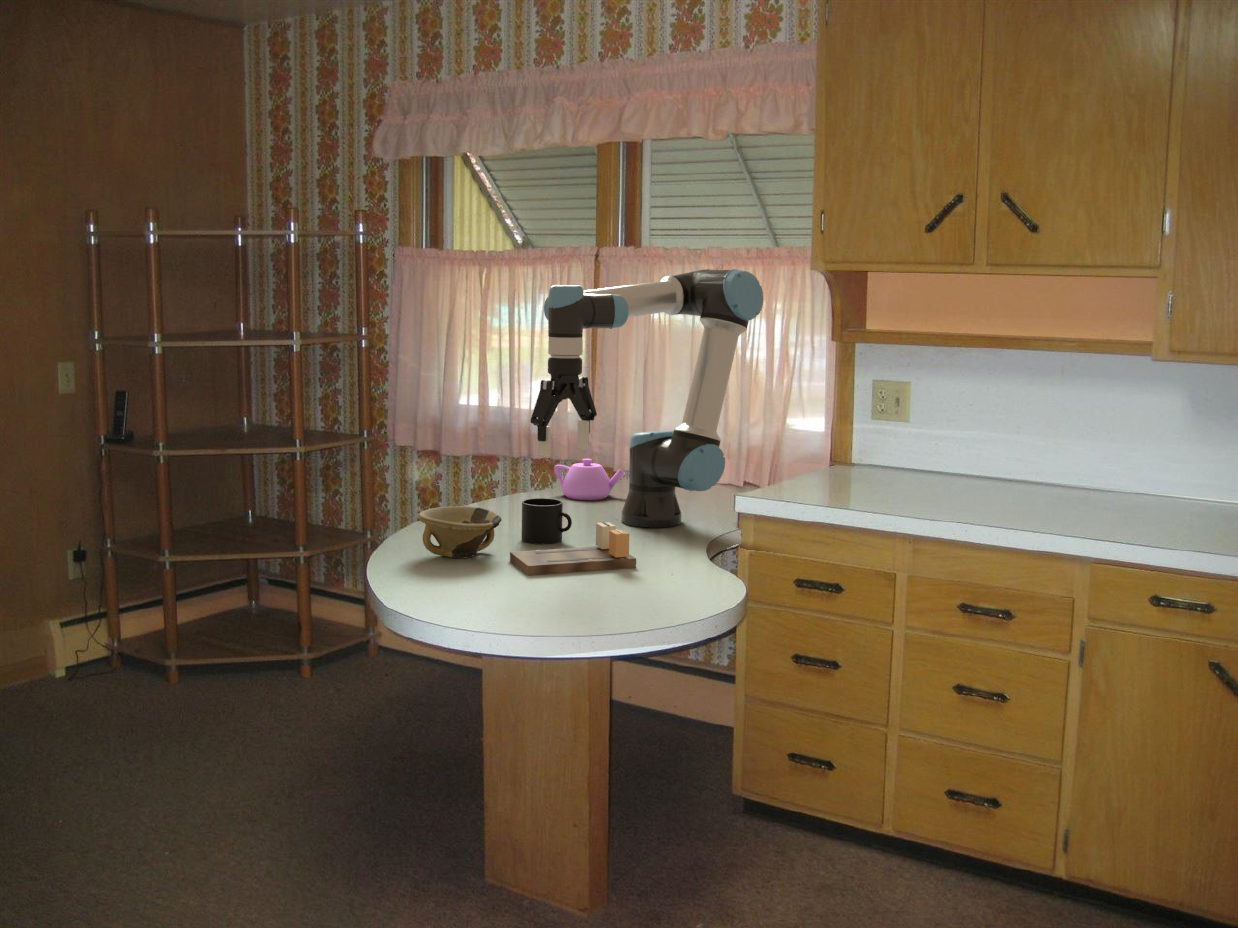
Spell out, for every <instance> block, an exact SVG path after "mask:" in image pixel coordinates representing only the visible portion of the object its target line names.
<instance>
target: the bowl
mask: <svg viewBox="0 0 1238 928" xmlns="http://www.w3.org/2000/svg"><path fill="white" fill-rule="evenodd" d="M418 517H419V521H420V522H421V523H422V524H424V525H425V527H424V530H423V533H422V543H423V546H424V547H425V549H426V550H427V551H429V552H430V553H432V554H434V555H437V556H441V557H446V558H452V559H467V558H471V557H474V556H475V555H476V554H477V553H478V552H480V551H483V550H485V549H486V548H488V547H490V545H491V544H492V543H493V541H494V539H495V529H496V528H497V527H498V526H500V523H501V522H502V517H501V515H499V514H498V513H496V512H494V511H493V510H489V509H486V508H481V507H478V506H476V507H475V506H469V505H467V506H465V505H463V506H462V505H459V506H457V505H456V506H441V507H440V506H439V507H434V508H433V507H432V508H429V509H426V510H422V511H420V512H419V513H418ZM432 536H433V537H434V540H435V541H436V542H437V543H438V545H435V544H434V543H433V542H432V541H431V537H432Z"/></svg>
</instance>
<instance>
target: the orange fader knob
mask: <svg viewBox="0 0 1238 928" xmlns="http://www.w3.org/2000/svg"><path fill="white" fill-rule="evenodd" d="M609 554H611V555H612V556H614V557H629V555H630V533H629V532H627V531H626V530H624V529H617V528H616V529H615V530H609Z"/></svg>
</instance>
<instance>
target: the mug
mask: <svg viewBox="0 0 1238 928" xmlns="http://www.w3.org/2000/svg"><path fill="white" fill-rule="evenodd" d="M563 505H564V504H563V501H562V500H559V499H556V498H555V499H554V498H547V497H546V498H545V497H544V498H543V497H542V498H541V497H539V498H537V497H536V498H528V499H524V500H522V501H521V541H522V542H524V543H527V544H534V545H550V544H551V545H552V544H557V543H559V542H561V541H562V540H563V532H567V531H569V530H570V529H571V527H572V524H573V521H572V518H571V515H570V514H568V513H566V512H564V511H563V507H564V506H563ZM563 517H564V518H565V519H566V521H567V526H566V527H563Z"/></svg>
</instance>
